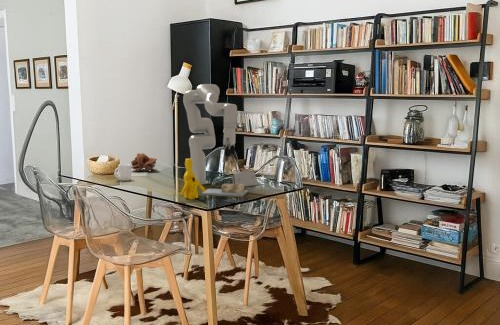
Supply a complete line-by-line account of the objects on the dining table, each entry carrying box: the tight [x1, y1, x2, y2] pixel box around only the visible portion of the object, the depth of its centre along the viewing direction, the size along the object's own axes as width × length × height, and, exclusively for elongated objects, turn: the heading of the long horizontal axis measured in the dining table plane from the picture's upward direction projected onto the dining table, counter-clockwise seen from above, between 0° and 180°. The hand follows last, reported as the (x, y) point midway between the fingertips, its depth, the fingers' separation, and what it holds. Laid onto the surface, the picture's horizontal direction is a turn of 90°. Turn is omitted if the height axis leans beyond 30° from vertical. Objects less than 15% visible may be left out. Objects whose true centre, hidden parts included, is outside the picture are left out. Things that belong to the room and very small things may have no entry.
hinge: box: [232, 170, 259, 187], centre depth 331 cm, size 17×5×10 cm, turn 124°
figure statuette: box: [179, 158, 207, 200], centre depth 289 cm, size 18×8×22 cm, turn 133°
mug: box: [113, 163, 132, 182], centre depth 350 cm, size 12×8×10 cm
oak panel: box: [221, 183, 245, 193], centre depth 302 cm, size 12×6×4 cm, turn 77°
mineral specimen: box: [130, 152, 157, 172], centre depth 393 cm, size 22×20×15 cm
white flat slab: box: [201, 188, 249, 197], centre depth 303 cm, size 24×13×1 cm, turn 77°
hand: (229, 154), depth 303 cm, fingers open, 9 cm apart
